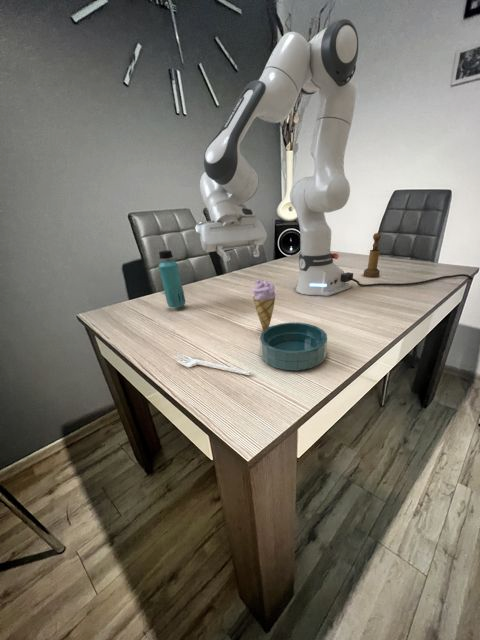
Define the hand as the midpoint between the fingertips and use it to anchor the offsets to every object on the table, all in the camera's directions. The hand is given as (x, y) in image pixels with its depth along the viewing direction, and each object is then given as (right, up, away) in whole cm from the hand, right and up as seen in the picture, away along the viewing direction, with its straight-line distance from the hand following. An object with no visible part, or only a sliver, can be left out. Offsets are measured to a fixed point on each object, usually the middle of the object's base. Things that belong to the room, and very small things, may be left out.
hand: (242, 258), depth 80 cm
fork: (-6, -31, -17) cm, 36 cm away
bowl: (+13, -28, -13) cm, 34 cm away
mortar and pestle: (+55, +6, +43) cm, 70 cm away
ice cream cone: (+7, -21, 0) cm, 22 cm away
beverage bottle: (-25, -12, +19) cm, 34 cm away
